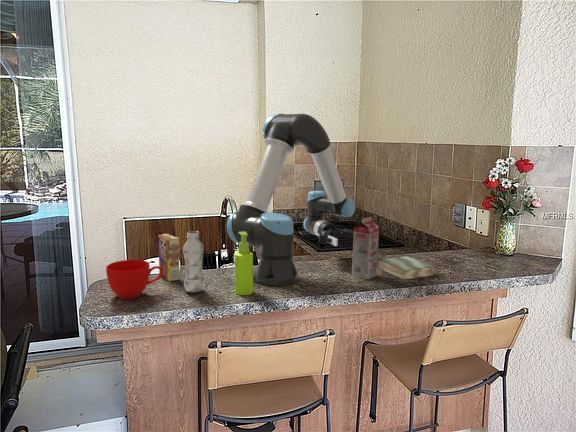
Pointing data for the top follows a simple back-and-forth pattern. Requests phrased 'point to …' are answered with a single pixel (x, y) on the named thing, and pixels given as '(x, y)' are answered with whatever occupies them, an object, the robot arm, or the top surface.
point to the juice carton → (365, 249)
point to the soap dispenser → (243, 268)
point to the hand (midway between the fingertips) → (352, 241)
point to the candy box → (169, 257)
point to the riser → (406, 267)
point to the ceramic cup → (129, 277)
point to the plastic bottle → (193, 263)
